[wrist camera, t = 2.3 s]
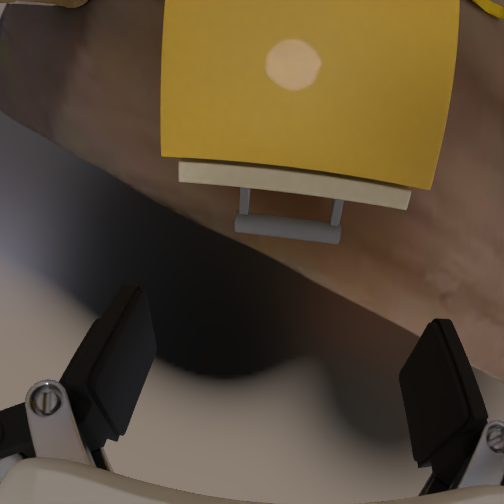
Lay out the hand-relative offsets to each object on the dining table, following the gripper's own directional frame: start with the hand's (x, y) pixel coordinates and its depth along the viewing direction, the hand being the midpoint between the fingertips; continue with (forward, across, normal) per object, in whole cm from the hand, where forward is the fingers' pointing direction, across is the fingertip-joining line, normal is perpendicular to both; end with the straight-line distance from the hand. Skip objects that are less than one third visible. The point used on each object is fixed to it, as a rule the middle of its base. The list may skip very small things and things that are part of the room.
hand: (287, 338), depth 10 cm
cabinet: (+18, 0, -11) cm, 22 cm away
